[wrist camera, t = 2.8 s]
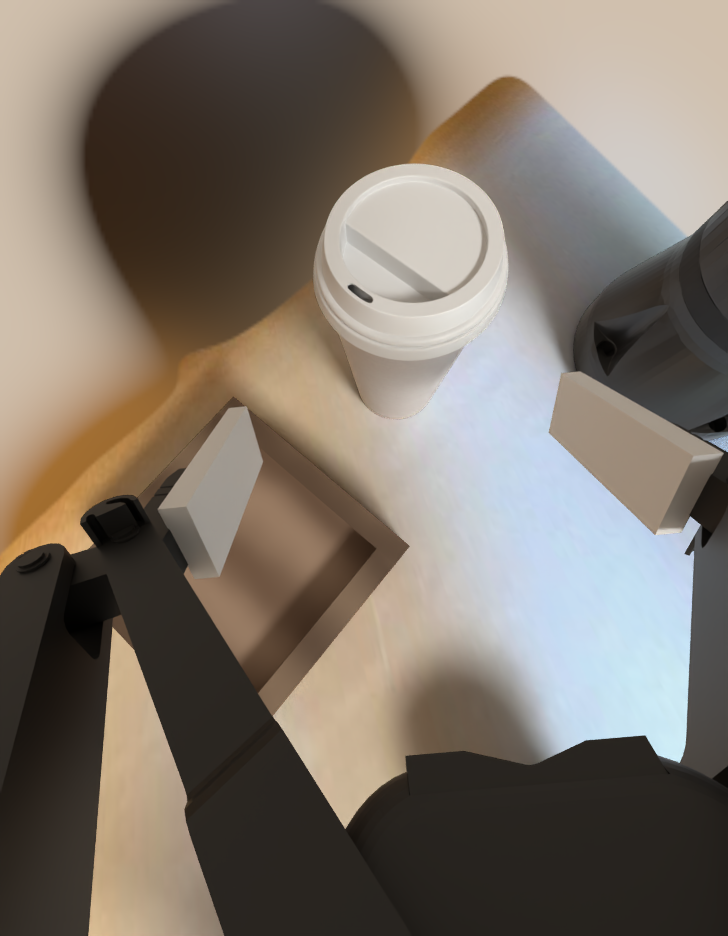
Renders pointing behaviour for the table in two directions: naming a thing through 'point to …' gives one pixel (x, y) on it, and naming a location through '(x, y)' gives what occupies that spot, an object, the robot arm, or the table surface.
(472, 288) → the coffee cup
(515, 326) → the table surface
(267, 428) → the walnut stand
